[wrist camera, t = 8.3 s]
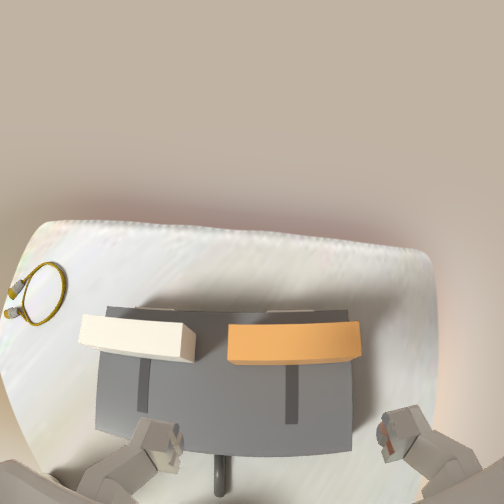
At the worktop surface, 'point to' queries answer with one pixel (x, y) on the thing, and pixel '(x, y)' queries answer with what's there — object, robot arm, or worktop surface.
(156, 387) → the switch box
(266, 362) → the orange switch
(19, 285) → the extension cord
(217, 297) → the worktop surface
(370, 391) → the worktop surface
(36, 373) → the worktop surface
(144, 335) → the white switch
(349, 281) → the worktop surface
